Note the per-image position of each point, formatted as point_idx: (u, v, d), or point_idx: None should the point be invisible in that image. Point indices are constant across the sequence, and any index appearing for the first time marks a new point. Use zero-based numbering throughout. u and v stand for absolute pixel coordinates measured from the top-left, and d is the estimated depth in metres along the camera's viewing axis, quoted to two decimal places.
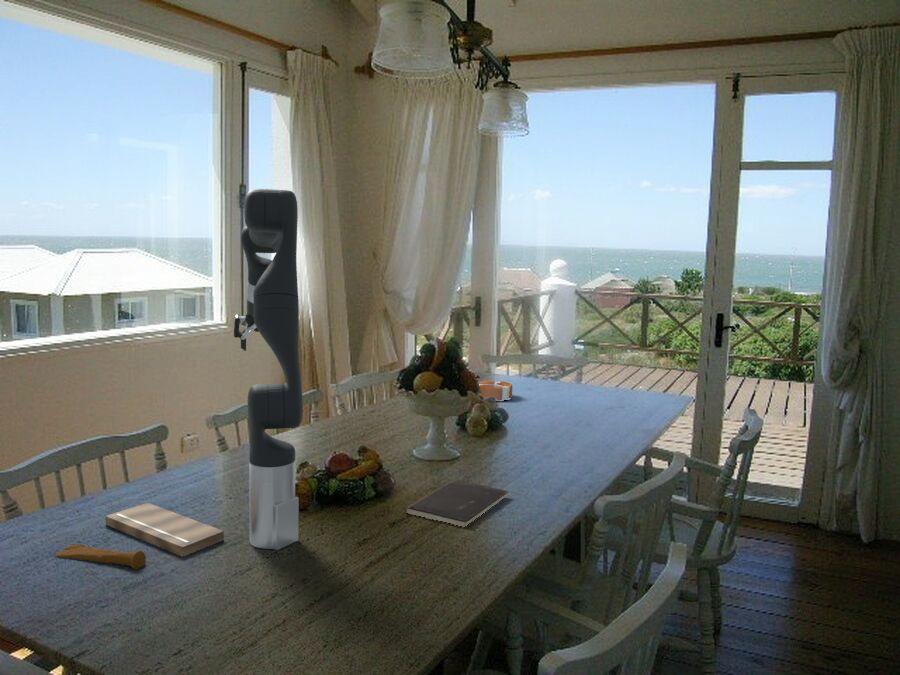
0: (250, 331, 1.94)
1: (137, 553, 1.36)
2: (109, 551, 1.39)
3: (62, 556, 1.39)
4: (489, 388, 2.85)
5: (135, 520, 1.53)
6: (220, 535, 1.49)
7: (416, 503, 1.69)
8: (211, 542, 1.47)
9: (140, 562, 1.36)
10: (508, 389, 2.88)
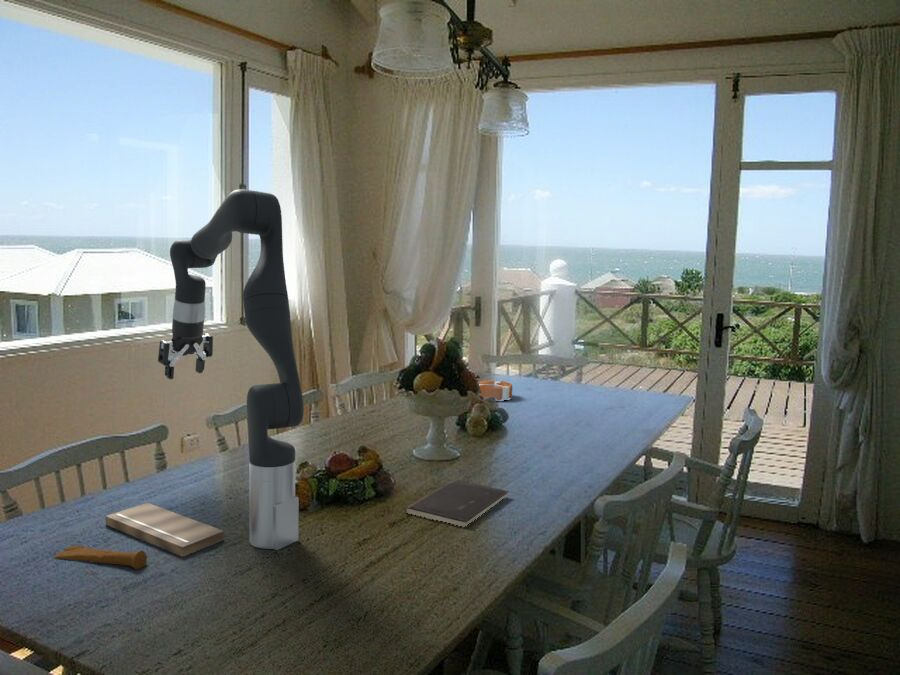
0: (180, 355, 1.82)
1: (138, 553, 1.36)
2: (110, 551, 1.39)
3: (62, 557, 1.39)
4: (489, 388, 2.85)
5: (135, 520, 1.53)
6: (220, 535, 1.49)
7: (416, 503, 1.69)
8: (211, 542, 1.47)
9: (141, 562, 1.36)
10: (508, 389, 2.88)
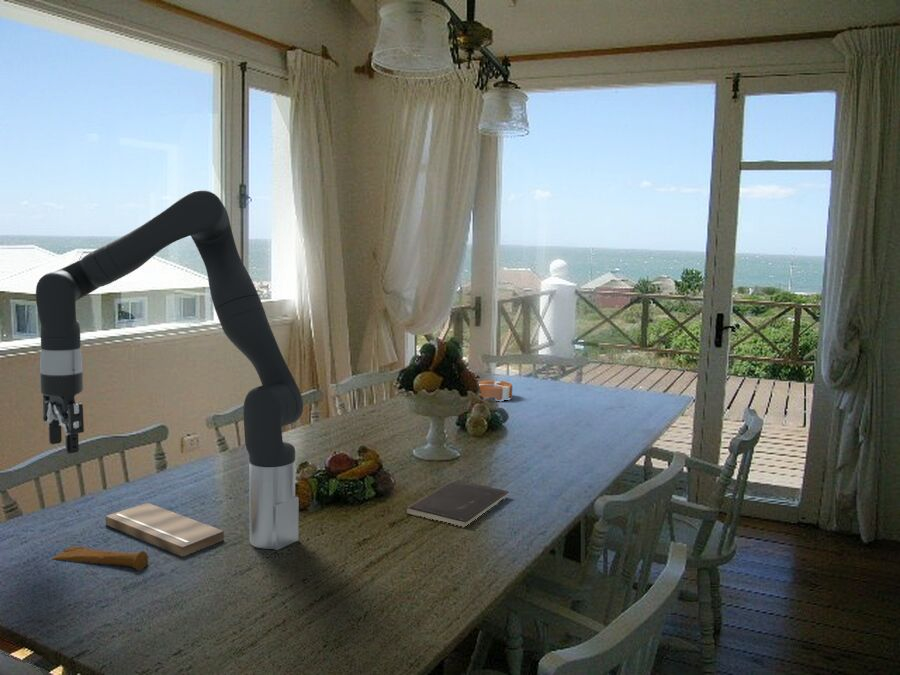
0: None
1: (140, 554, 1.36)
2: (110, 552, 1.38)
3: (62, 558, 1.38)
4: (489, 388, 2.85)
5: (135, 520, 1.53)
6: (220, 535, 1.49)
7: (416, 503, 1.69)
8: (211, 542, 1.47)
9: (143, 563, 1.36)
10: (508, 389, 2.88)
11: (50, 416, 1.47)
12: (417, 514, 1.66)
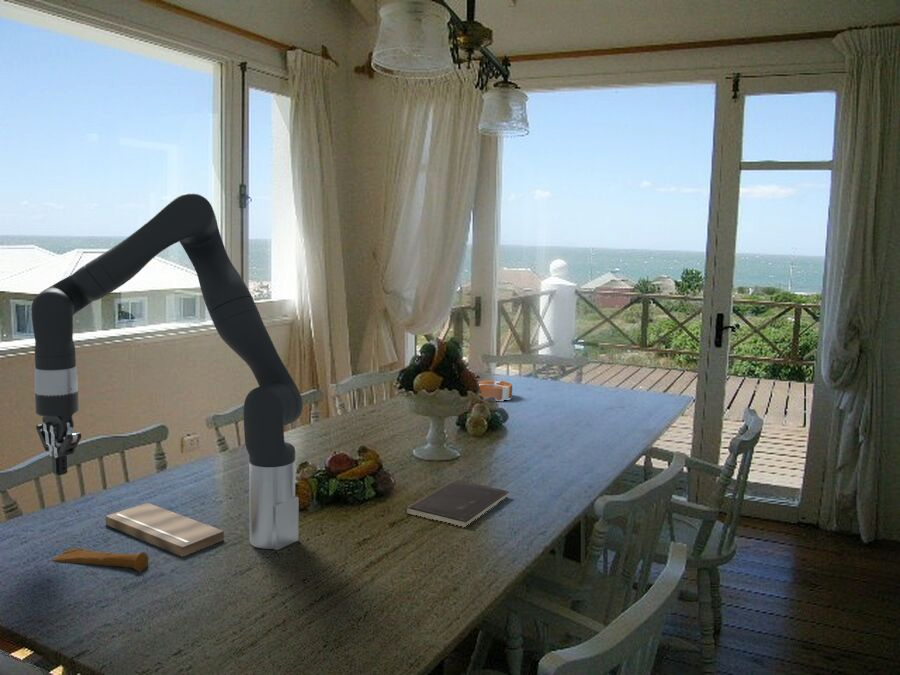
0: None
1: (140, 555, 1.35)
2: (110, 554, 1.38)
3: (61, 560, 1.38)
4: (489, 388, 2.85)
5: (135, 520, 1.53)
6: (220, 535, 1.49)
7: (416, 503, 1.69)
8: (211, 542, 1.47)
9: (143, 564, 1.35)
10: (508, 389, 2.88)
11: (49, 440, 1.43)
12: (417, 514, 1.66)
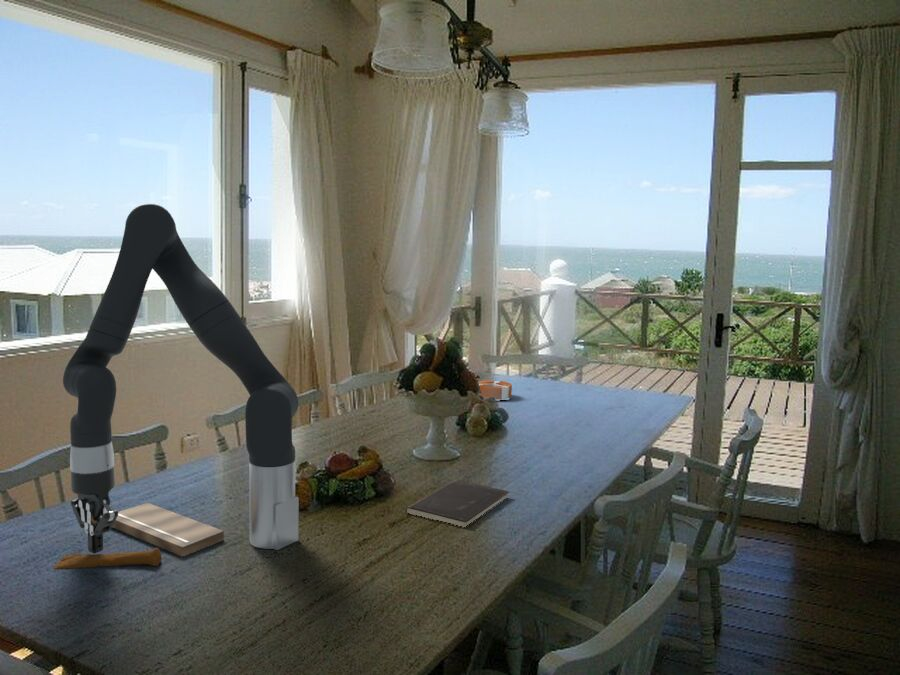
0: None
1: (155, 550, 1.37)
2: (118, 554, 1.38)
3: (65, 567, 1.35)
4: (488, 388, 2.86)
5: (135, 520, 1.53)
6: (220, 535, 1.49)
7: (417, 503, 1.69)
8: (211, 542, 1.47)
9: (159, 558, 1.38)
10: (507, 389, 2.88)
11: (85, 517, 1.39)
12: (417, 514, 1.66)
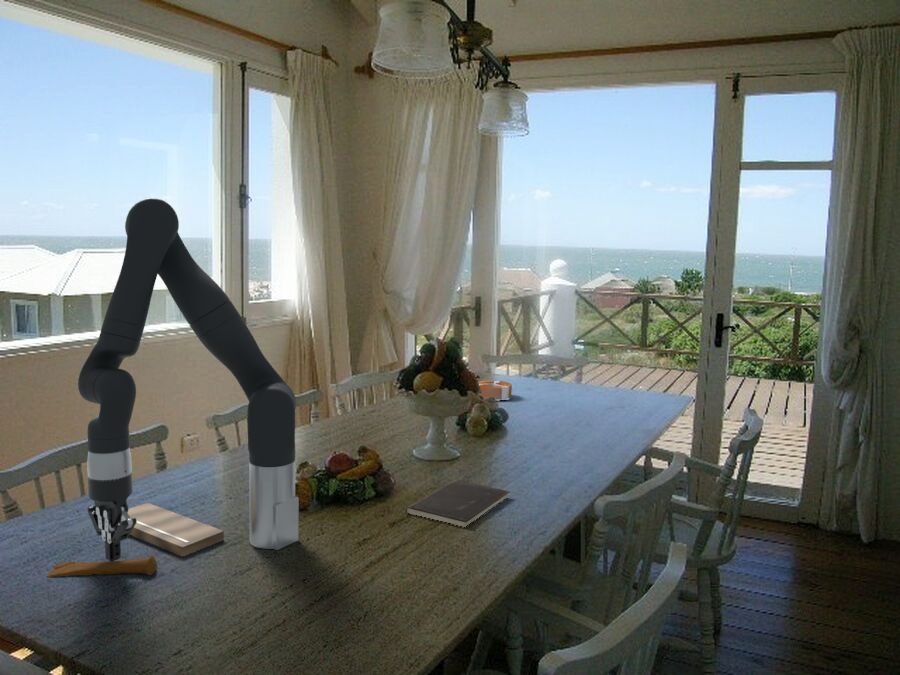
0: None
1: (151, 558, 1.34)
2: (113, 562, 1.35)
3: (58, 575, 1.32)
4: (488, 388, 2.86)
5: None
6: (220, 535, 1.49)
7: (417, 503, 1.69)
8: (211, 542, 1.47)
9: (154, 567, 1.34)
10: (507, 389, 2.88)
11: (103, 525, 1.35)
12: (417, 514, 1.66)
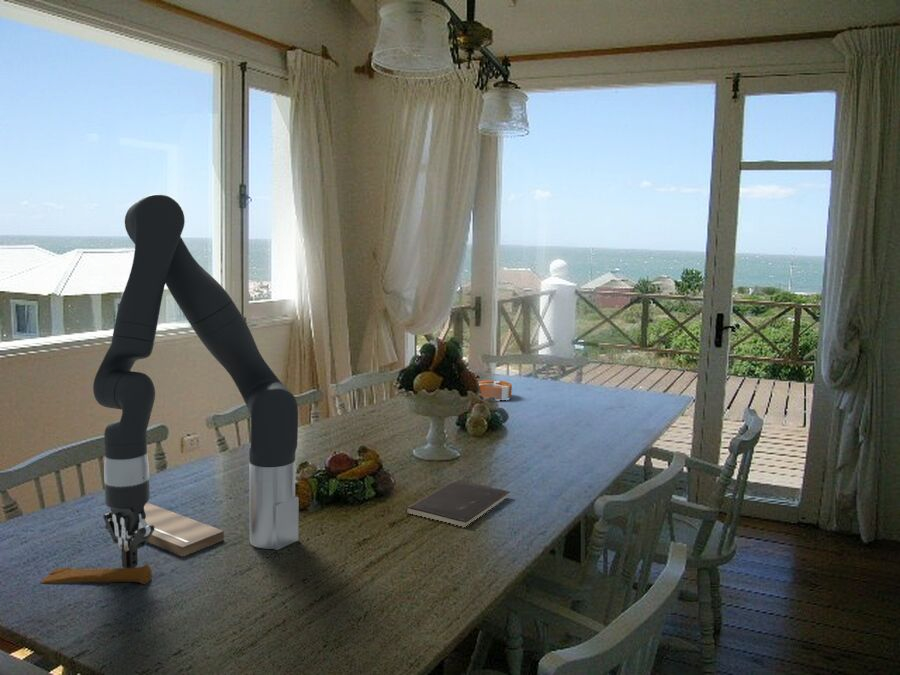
0: None
1: (145, 567, 1.30)
2: (108, 569, 1.31)
3: (52, 581, 1.29)
4: (488, 388, 2.86)
5: None
6: (220, 535, 1.49)
7: (417, 503, 1.69)
8: (211, 542, 1.47)
9: (148, 576, 1.31)
10: (507, 389, 2.88)
11: (119, 532, 1.32)
12: (417, 514, 1.66)
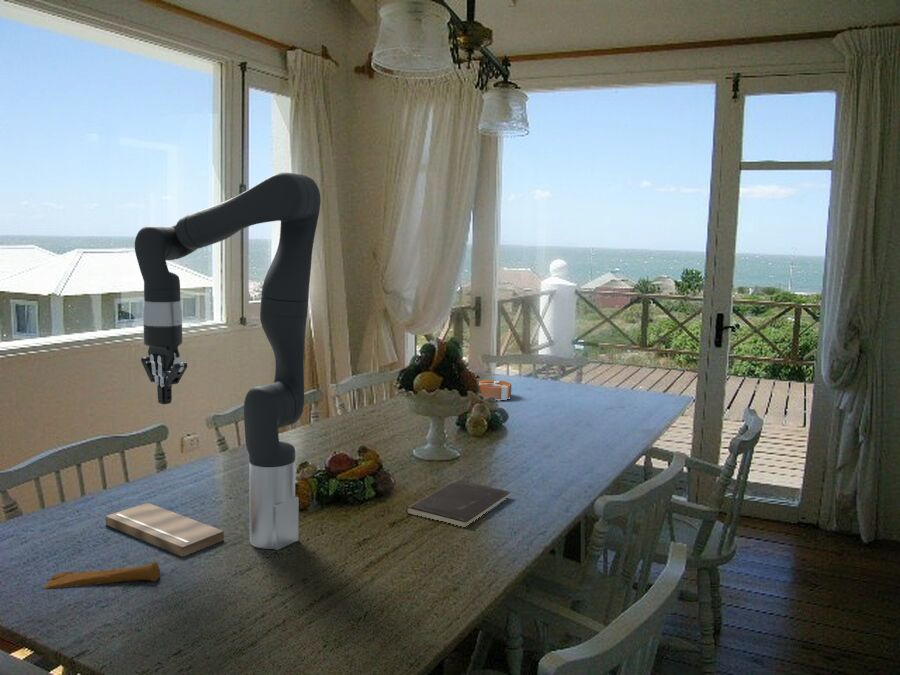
0: None
1: (154, 564, 1.32)
2: (114, 570, 1.31)
3: (57, 586, 1.28)
4: (488, 387, 2.86)
5: (135, 520, 1.53)
6: (220, 535, 1.49)
7: (417, 503, 1.69)
8: (211, 542, 1.47)
9: (158, 573, 1.32)
10: (507, 388, 2.89)
11: (156, 370, 1.51)
12: (418, 514, 1.66)
